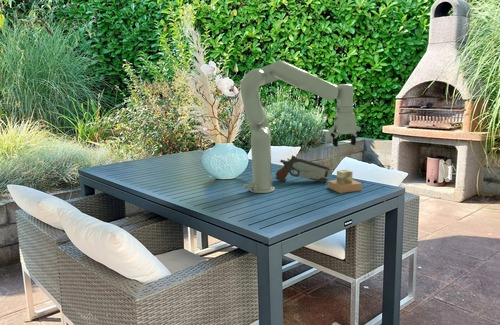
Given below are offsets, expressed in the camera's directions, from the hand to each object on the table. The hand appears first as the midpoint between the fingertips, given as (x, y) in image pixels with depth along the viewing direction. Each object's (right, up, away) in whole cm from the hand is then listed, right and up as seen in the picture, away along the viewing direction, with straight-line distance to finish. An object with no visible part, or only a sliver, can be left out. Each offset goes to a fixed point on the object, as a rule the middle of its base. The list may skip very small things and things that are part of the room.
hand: (344, 145), depth 208 cm
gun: (-18, -19, +23) cm, 35 cm away
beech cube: (+1, -18, +4) cm, 18 cm away
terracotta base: (+1, -22, +4) cm, 22 cm away
